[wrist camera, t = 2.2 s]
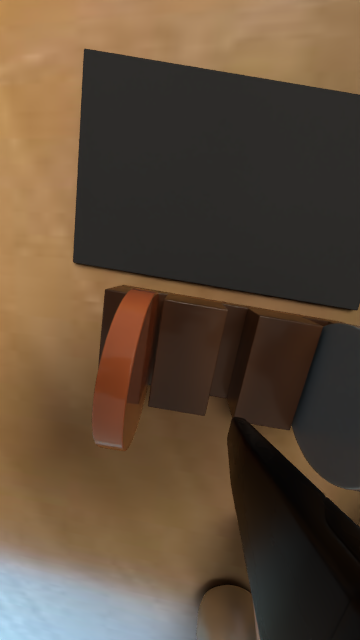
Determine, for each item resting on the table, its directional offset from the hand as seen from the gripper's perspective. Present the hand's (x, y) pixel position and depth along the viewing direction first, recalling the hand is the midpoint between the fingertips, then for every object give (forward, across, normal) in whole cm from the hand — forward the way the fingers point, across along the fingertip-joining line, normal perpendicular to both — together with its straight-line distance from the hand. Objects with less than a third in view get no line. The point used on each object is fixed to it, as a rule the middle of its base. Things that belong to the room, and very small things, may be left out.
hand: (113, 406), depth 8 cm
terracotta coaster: (+4, 0, 0) cm, 4 cm away
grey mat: (+9, -4, -10) cm, 14 cm away
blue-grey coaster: (+4, -11, 0) cm, 12 cm away
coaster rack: (+9, -5, 0) cm, 10 cm away
